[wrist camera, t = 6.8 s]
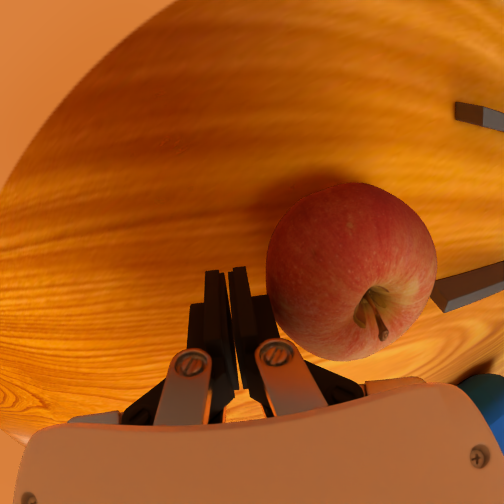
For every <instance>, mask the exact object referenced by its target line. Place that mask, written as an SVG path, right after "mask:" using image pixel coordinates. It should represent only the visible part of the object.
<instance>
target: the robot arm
mask: <svg viewBox="0 0 504 504" xmlns="http://www.w3.org/2000/svg"><path fill="white" fill-rule="evenodd" d="M228 279H229V291H230V303H231V312H230V306H229V300H228V294H227V288H226V281H225V275H224V272H223V273H219V270H211V271H205V293H204V303H195V304H191V305H190V313H189V325H188V338H187V349H185V350H182V351H181V352H179V353H177V354H176V355H175V356H174V357H173V359H172V361H171V363H170V366H169V369H168V373H167V376H166V378H165V379H164V380H163V381H161V382H160V383H159V384H158V385H156V386H155V387H154V388H152V389H151V390H150V391H149V392H147V393H146V394H145V395H143V396H142V397H141V398H140V399H138V400H137V401H136V402H134V403H133V404H132V405H130V406H129V407H128V408H127V409H126V410H125V411H124V412H121V413H120V412H119V411H118V410H117V411H111V412H105V413H98V414H91V415H83V416H76V417H73V418H71V419H70V420H69V421H68V422H67V423H64V424H57V425H53V426H49V427H46V428H43V429H41V430H39V431H37V432H36V433H35V434H34V435H33V436H32V437H31V438H30V440H29V442H28V444H27V446H26V448H25V451H24V454H23V456H22V460H21V463H20V467H19V471H18V475H17V480H16V485H15V491H14V499H13V504H504V456H503V453H502V451H501V449H500V447H499V445H498V443H497V441H496V439H495V437H494V435H493V433H492V431H491V429H490V427H489V426H488V424H487V422H486V421H485V419H484V417H483V416H482V414H481V412H480V411H479V409H478V408H477V407H476V405H475V404H474V403H473V401H472V400H471V399H470V397H469V396H468V395H467V394H466V393H465V392H464V391H463V390H461V389H460V388H458V387H457V386H454V385H451V384H446V383H426V382H425V381H424V380H423V379H421V378H419V377H403V378H395V379H386V380H375V381H365V384H357V383H356V382H354V381H352V380H350V379H347V378H345V377H342V376H340V375H338V374H335V373H333V372H331V371H328V370H326V369H324V368H321V367H319V366H317V365H315V364H312V363H310V362H308V361H306V360H303V358H302V356H301V354H300V352H299V351H298V349H297V347H296V346H295V345H294V343H292V342H291V341H289V340H286V339H283V338H280V336H279V332H278V328H277V325H276V321H275V317H274V313H273V310H272V306H271V302H270V299H269V295H268V294H267V295H259V296H252V297H251V293H250V288H249V282H248V277H247V272H246V266H243V267H235V268H233V271H231V272H228ZM231 314H232V318H231ZM234 342H235V344H234ZM235 347H236V353H237V358H238V363H239V369H240V374H241V379H242V384H243V389H249V394H250V397H251V398H253V399H254V400H256V401H258V402H259V403H260V404H261V408H262V411H263V414H264V416H265V418H264V419H257V420H249V421H240V422H231V423H225V421H226V405H227V404H228V403H229V402H230V401H231V400H233V398H235V394H234V390H239V382H238V373H237V363H236V354H235Z"/></svg>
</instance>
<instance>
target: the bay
mask: <svg viewBox="0 0 504 504" xmlns="http://www.w3.org/2000/svg"><path fill="white" fill-rule="evenodd" d="M456 120H459V121H463V122H467V123H471V124H475V125H479V126H482V127H487V128H491V129H495V130H499V131H502V132H504V113H501V112H499V111H496V110H493V109H489V108H486V107H483V106H478V105H472V104H467V103H461V102H456ZM502 290H504V261H502V262H499V263H496V264H493V265H490V266H487V267H483V268H480V269H477V270H473V271H470V272H467V273H463V274H460V275H456V276H452V277H449V278H445V279H441V280H438V281H435V283H434V286H433V289H432V292H431V295H430V298H431V299H432V300H433V301H434V302H435V303H436V305H437V306H438V307H439V308H440V309H441V310H442V312H443V313H446V312H449V311H452V310H455V309H457V308H460V307H463V306H465V305H468V304H471V303H473V302H476V301H478V300H481V299H483V298H486V297H488V296H490V295H493V294H495V293H497V292H500V291H502Z"/></svg>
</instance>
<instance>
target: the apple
mask: <svg viewBox="0 0 504 504" xmlns="http://www.w3.org/2000/svg"><path fill="white" fill-rule="evenodd" d="M436 273H437V257H436V250H435V247H434V243H433V240H432V238H431V235H430V233H429V231H428V230H427V228H426V226H425V224H424V223H423V221H422V220H421V219H420V217H419V216H418V215H417V214H416V213H415V211H414V210H413V209H411V208H410V207H409V206H408V205H407V204H405V203H404V202H403V201H401V200H400V199H398V198H397V197H395V196H394V195H392V194H390V193H388V192H386V191H384V190H382V189H380V188H378V187H375V186H373V185H369V184H365V183H344V184H339V185H336V186H332V187H330V188H327V189H324V190H322V191H319V192H316V193H313V194H310V195H308V196H306V197H304V198H302V199H301V200H299V201H298V202H297V203H296V204H294V205H293V206H292V207H291V208H290V209H289V211H288V212H287V213H286V214H285V215H284V216H283V218H282V219H281V220H280V222H279V223H278V225H277V227H276V229H275V230H274V232H273V235H272V237H271V240H270V243H269V246H268V251H267V259H266V290H267V294H268V295H269V299H270V302H271V306H272V310H273V313H274V317H275V320H276V322H277V323H278V325H279V326H280V327H281V328H282V330H283V331H284V332H285V333H286V334H287V335H288V336H289V337H290V338H291V339H292V340H294V341H295V342H296V343H297V344H298V345H300V346H301V347H302V348H304V349H305V350H307V351H308V352H310V353H312V354H314V355H316V356H318V357H321V358H324V359H328V360H332V361H351V360H357V359H362V358H365V357H368V356H370V355H372V354H374V353H376V352H378V351H379V350H381V349H383V348H384V347H386V346H388V345H390V344H391V343H393V342H394V341H396V340H397V339H398V338H399V337H401V336H402V335H403V334H404V333H405V332H406V331H407V330H408V329H409V328H410V327H411V325H412V324H413V323H414V322H415V321H416V319H417V318H418V317H419V315H420V314H421V312H422V310H423V309H424V307H425V305H426V303H427V301H428V299H429V297H430V295H431V292H432V289H433V286H434V283H435V279H436Z"/></svg>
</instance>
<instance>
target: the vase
mask: <svg viewBox="0 0 504 504" xmlns="http://www.w3.org/2000/svg"><path fill="white" fill-rule="evenodd" d="M457 387H458V388H460V389H461V390H463V391H464V392H465V393H466V394H467V395H468V396H469V397H470V399H471V400H472V401H473V403H474V404H475V405H476V407H477V408H478V409H479V411H480V412H481V414H482V416H483V417H484V419H485V421H486V422H487V424H488V426H489V427H490V429H491V431H492V433H493V435H494V437H495V439H496V441H497V443H498V445H499V447H500V449H501V451H502V453H503V456H504V377H503V376H501V375H496V374H489V373H487V374H479V375H474V376H472V377H470V378H468V379H467V380H465V381H463V382H462V383H460V384H459V385H457Z"/></svg>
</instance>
